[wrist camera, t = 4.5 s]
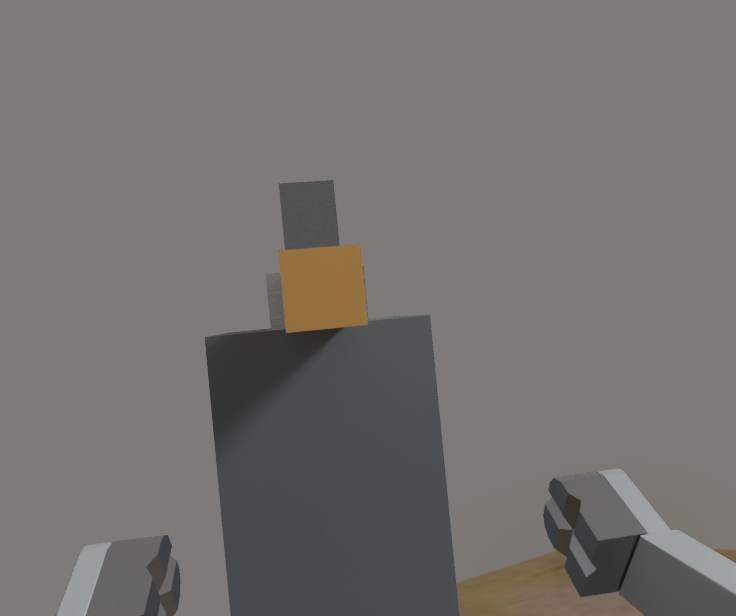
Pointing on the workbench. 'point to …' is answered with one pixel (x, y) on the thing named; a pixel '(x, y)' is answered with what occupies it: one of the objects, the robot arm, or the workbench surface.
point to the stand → (331, 469)
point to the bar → (318, 262)
